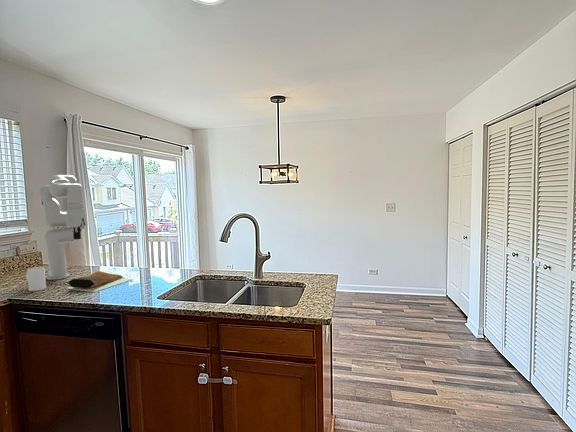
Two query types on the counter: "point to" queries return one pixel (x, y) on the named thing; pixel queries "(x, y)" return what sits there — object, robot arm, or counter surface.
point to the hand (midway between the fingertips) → (77, 239)
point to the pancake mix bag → (93, 280)
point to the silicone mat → (102, 285)
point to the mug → (36, 278)
